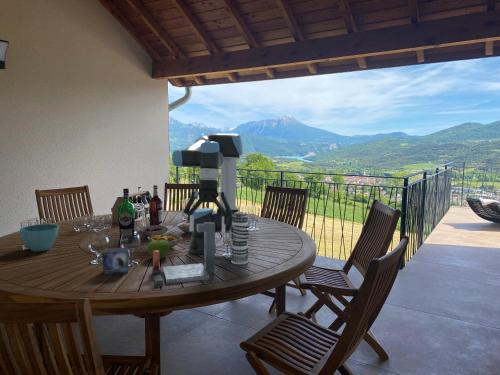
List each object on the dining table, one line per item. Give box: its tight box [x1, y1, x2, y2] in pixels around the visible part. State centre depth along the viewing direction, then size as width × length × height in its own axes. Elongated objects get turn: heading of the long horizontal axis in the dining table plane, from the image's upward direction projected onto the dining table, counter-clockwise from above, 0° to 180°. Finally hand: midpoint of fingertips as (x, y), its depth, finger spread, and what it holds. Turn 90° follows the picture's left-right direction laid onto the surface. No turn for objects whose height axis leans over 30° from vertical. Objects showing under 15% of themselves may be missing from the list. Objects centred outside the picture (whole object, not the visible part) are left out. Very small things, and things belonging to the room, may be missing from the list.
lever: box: [151, 250, 162, 275], centre depth 154 cm, size 4×4×10 cm
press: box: [152, 222, 216, 288], centre depth 153 cm, size 18×26×23 cm
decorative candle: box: [230, 211, 250, 265], centre depth 173 cm, size 9×9×25 cm
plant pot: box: [19, 223, 60, 253], centre depth 189 cm, size 18×18×12 cm
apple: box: [147, 239, 171, 260], centre depth 177 cm, size 11×10×10 cm
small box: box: [102, 246, 130, 276], centre depth 156 cm, size 11×6×10 cm, turn 105°
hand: (207, 232), depth 141 cm, fingers open, 13 cm apart
